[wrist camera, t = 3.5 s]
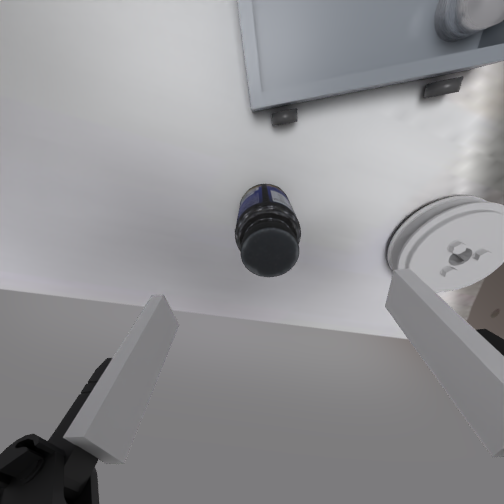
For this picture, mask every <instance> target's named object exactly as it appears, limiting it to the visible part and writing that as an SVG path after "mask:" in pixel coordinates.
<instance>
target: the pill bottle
mask: <svg viewBox="0 0 504 504" xmlns="http://www.w3.org/2000/svg"><path fill="white" fill-rule="evenodd" d="M300 237H301V230H300V224H299V222H298V219H297V217H296V215H295V213H294V211H293V209H292V206H291V204H290V202H289V200H288V198H287V196H286V194H285V193H284V192H283V191H282V190H281V189H280V188H279V187H277V186H274V185H271V184H260V185H256V186H254V187H252V188H251V189H249V190H248V191H247V192H246V193H245V195H244V196H243V197H242V200H241V202H240V208H239V213H238V219H237V224H236V229H235V239H236V243H237V246H238V248H239V250H240V251H241V259H242V262H243V264H244V265H245V267H246V268H247V269H248V270H249V271H251V272H252V273H254V274H256V275H258V276H263V277H274V276H279V275H282V274H284V273H286V272H287V271H289V270H290V269H291V268H292V267H293V266H294V265H295V263H296V262H297V260H298V257H299V246H298V244H299V242H300Z"/></svg>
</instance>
